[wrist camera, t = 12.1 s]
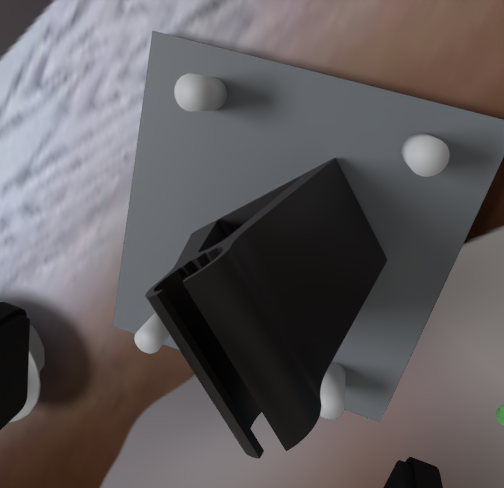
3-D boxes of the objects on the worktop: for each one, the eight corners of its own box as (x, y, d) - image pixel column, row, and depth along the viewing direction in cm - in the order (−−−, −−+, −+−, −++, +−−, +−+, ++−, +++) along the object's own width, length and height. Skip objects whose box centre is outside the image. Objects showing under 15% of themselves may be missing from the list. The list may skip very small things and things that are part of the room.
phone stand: (336, 156, 21) (317, 217, 10) (387, 258, 22) (420, 416, 11) (193, 230, 24) (57, 340, 13) (244, 316, 25) (157, 486, 14)
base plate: (509, 122, 20) (547, 127, 16) (378, 408, 26) (383, 461, 22) (162, 34, 22) (121, 19, 18) (121, 317, 29) (85, 350, 25)
